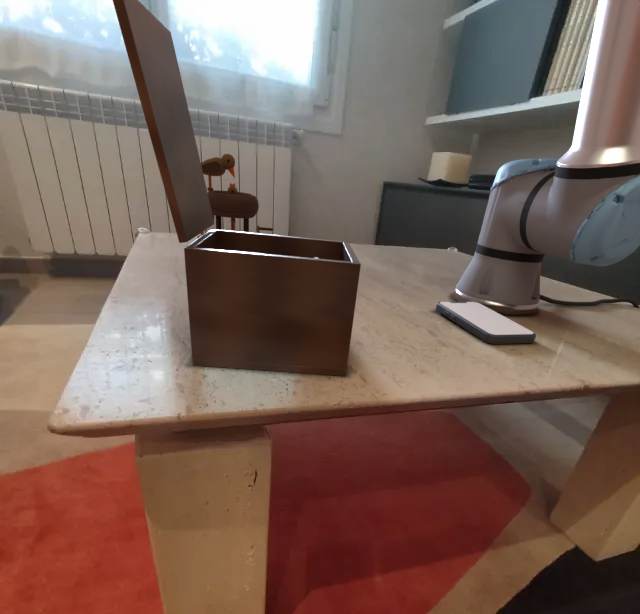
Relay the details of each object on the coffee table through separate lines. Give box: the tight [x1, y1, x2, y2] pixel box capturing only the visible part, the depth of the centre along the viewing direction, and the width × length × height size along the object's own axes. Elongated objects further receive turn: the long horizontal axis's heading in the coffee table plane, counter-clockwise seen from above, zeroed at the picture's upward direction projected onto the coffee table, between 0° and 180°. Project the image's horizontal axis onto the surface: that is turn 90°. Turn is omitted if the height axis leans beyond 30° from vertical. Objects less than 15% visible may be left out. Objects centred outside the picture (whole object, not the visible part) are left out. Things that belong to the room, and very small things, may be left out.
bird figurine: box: [196, 153, 274, 240], centre depth 77 cm, size 15×11×20 cm
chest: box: [183, 228, 362, 377], centre depth 48 cm, size 17×14×12 cm
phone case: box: [435, 301, 537, 345], centre depth 67 cm, size 9×2×16 cm
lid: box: [112, 0, 215, 244], centre depth 40 cm, size 17×14×1 cm
